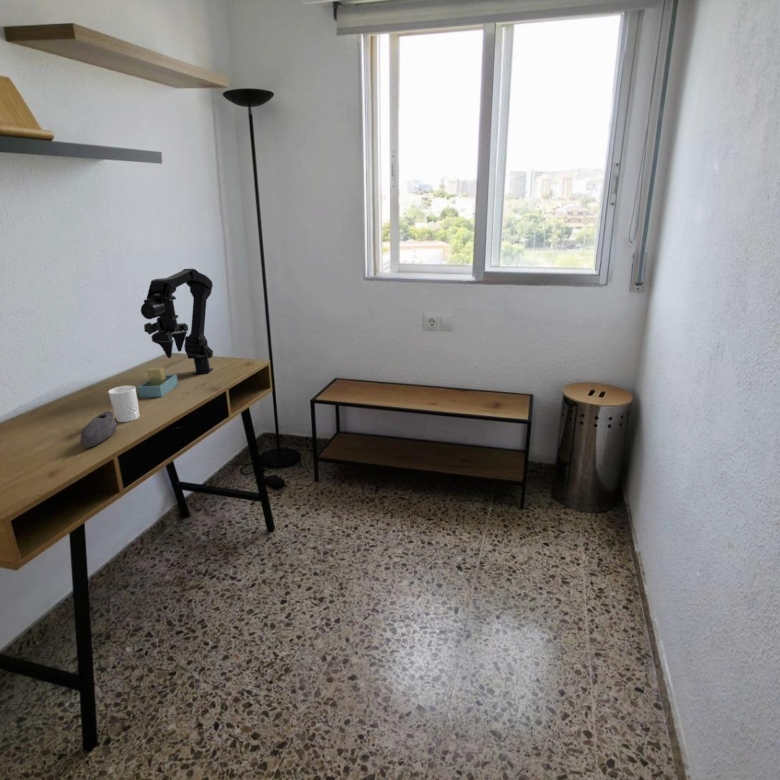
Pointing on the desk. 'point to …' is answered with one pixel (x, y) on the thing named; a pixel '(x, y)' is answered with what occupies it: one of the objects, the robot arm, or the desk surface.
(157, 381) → the brass bracket
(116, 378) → the desk surface
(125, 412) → the white cup
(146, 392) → the blue rectangular open bin
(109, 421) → the perforated stone tool
